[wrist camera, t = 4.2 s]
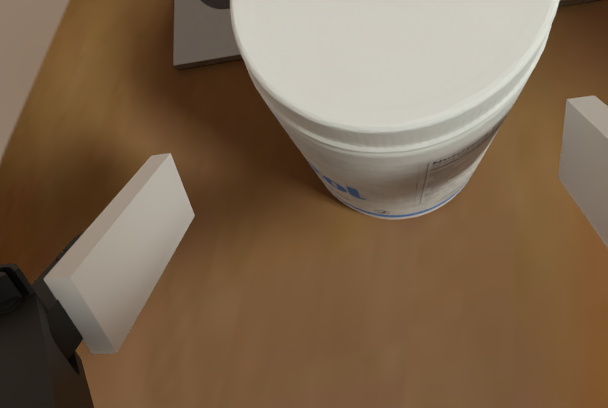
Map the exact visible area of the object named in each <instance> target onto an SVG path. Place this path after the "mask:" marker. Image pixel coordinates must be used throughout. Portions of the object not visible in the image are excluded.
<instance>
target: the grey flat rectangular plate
mask: <svg viewBox="0 0 608 408" xmlns="http://www.w3.org/2000/svg"><path fill="white" fill-rule="evenodd" d="M590 1H596V0H560V1H559V4H558V7H560V6H566V5H572V4H578V3H584V2H590ZM240 59H243V58H242V56H241V54H240V51H239V49H238V47H237V44H236V41H235V37H234V33H233V29H232V23H231V15H230V0H174V50H173V66H174V67H175V68H176V69H177V70H180V69H186V68H192V67H198V66H204V65H210V64H216V63H222V62H228V61H234V60H240Z"/></svg>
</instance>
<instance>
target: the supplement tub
mask: <svg viewBox="0 0 608 408" xmlns="http://www.w3.org/2000/svg"><path fill="white" fill-rule="evenodd" d="M559 1H560V0H230V15H231V23H232V29H233V33H234V37H235V41H236V44H237V47H238V49H239V51H240V54H241V56H242V58H243V60H244V62H245V65H246V68H247V70H248V73H249V75H250V77H251V79H252V81H253V83H254V85H255V87H256V89H257V90H258V92H259V93H260V95H261V97H262V98H263V100H264V101H265V103H266V104H267V105H268V107H269V108H270V110H271V111H272V113H273V114H274V116H275V117H276V119H277V120H278V121H279V123H280V124H281V126H282V127H283V128H284V130H285V131H286V132H287V134H288V135H289V137H290V138H291V139H292V141H293V142H294V143H295V145H296V146H297V147H298V149H299V150H300V152H301V153H302V154H303V156H304V157H305V159H306V160H307V161H308V163H309V164H310V166H311V167H312V168H313V170H314V171H315V172H316V174H317V175H318V177H319V178H320V179H321V181H322V182H323V183H324V185H325V186H326V187H327V189H328V190H329V191H330V192H331V193H332V194H333V195H334V196H335V197H336V198H337V199H339V200H340V201H341V202H343V203H344V204H345V205H347V206H349V207H351V208H352V209H354V210H356V211H358V212H361V213H363V214H366V215H369V216H372V217H376V218H381V219H407V218H413V217H417V216H421V215H424V214H427V213H429V212H431V211H434V210H436V209H437V208H439V207H441V206H443V205H444V204H446V203H447V202H449V201H450V200H451V199H452V198H454V197H455V196H456V195H457V194H458V193H459V192H460V191H461V189H462V188H463V187H464V186H465V185H466V183H467V182H468V181H469V179H470V177H471V176H472V174H473V173H474V171H475V169H476V168H477V166H478V164H479V162H480V161H481V159H482V157H483V156H484V154H485V152H486V150H487V149H488V147H489V145H490V144H491V142H492V140H493V139H494V137H495V135H496V133H497V132H498V130H499V128H500V126H501V125H502V123H503V121H504V120H505V118H506V116H507V115H508V113H509V111H510V110H511V108H512V106H513V105H514V103H515V101H516V100H517V98H518V96H519V94H520V92H521V91H522V89H523V87H524V85H525V84H526V82H527V80H528V78H529V76H530V75H531V73H532V71H533V69H534V68H535V66H536V64H537V62H538V60H539V58H540V56H541V54H542V52H543V50H544V48H545V45H546V42H547V39H548V36H549V32H550V29H551V25H552V22H553V19H554V17H555V14H556V11H557V8H558V4H559Z"/></svg>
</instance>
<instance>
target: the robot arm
mask: <svg viewBox="0 0 608 408" xmlns="http://www.w3.org/2000/svg"><path fill="white" fill-rule="evenodd" d="M558 178H559V180H560V181H561V183H562V184H563V185H564V187H565V188H566V190H567V191H568V193H569V194H570V195H571V197H572V198H573V200H574V201H575V203H576V204H577V205H578V207H579V208H580V210H581V211H582V213H583V214H584V215H585V217H586V218H587V220H588V221H589V223H590V224H591V225H592V227H593V228H594V230H595V231H596V232H597V234H598V235H599V237H600V238H601V240H602V241H603V242H604V244H605V245H606V247H607V248H608V106H607V105H605V104H604V103H603V102H602V101H601V100H599V99H598V98H597V97H596V96H595V95H594V96H587V97H579V98H572V99H567V100H566V109H565V119H564V128H563V138H562V147H561V156H560V166H559V175H558ZM194 216H195V215H194V212H193V210H192V207H191V205H190V202H189V200H188V197H187V194H186V192H185V189H184V187H183V184H182V181H181V179H180V176H179V174H178V171H177V169H176V166H175V163H174V161H173V158H172V156H171V153H168V154H161V155H153V156H151V157H150V158H149V159H148V160H147V161H146V162H145V164H144V165H143V166H142V167H141V168H140V169H139V170H138V172H137V173H136V174H135V175H134V176H133V177H132V178H131V180H130V181H129V182H128V183H127V184H126V185H125V186H124V188H123V189H122V190H121V191H120V192H119V193H118V194H117V195H116V197H115V198H114V199H113V200H112V201H111V202H110V203H109V205H108V206H107V207H106V208H105V209H104V210H103V211H102V213H101V214H100V215H99V216H98V217H97V218H96V219H95V221H94V222H93V223H92V224H91V225H90V226H89V227H88V229H86V230H85V231H84V232H82V233H81V234H79V235H78V236H77V237H75V238H74V239H73V240H72V241H71V242H70V243H69V244H68V245H67V247H66V248H65V249H64V250H63V251H64V252H61V253H60V254H59V255H58V257H57V258H56V259H55V260H56V261H53V262H52V263H51V264H50V266H49V267H48V268H47V269H46V270H45V271H44V272H43V273H42V275H41V276H40V277H39V278H38V279H37V280H36V281H35V282H34V283H33V285H32V286H31V285H30V283H29V282H28V280H27V279H26V278H25V276H24V275H23V273H22V272H21V270H20V269H19V267H18V266H17V265H16V264H4V265H0V408H94V406H93V402H92V398H91V395H90V391H89V387H88V383H87V380H86V376H85V372H84V368H83V365H82V361H81V359H80V357H79V356H78V354H77V353H76V351H75V350H76V348H77V347H78V345H79V344H80V342H81V341H82V339H83V341H84V342H85V344H86V345H87V347H88V348H89V350H90V351H91V353H92V354H111V353H118V351H119V349H120V347H121V345H122V344H123V342H124V340H125V338H126V337H127V335H128V333H129V331H130V330H131V328H132V326H133V324H134V322H135V321H136V319H137V317H138V315H139V314H140V312H141V310H142V308H143V307H144V305H145V303H146V301H147V299H148V298H149V296H150V294H151V292H152V291H153V289H154V287H155V285H156V284H157V282H158V280H159V278H160V276H161V275H162V273H163V271H164V269H165V268H166V266H167V264H168V262H169V261H170V259H171V257H172V255H173V253H174V252H175V250H176V248H177V246H178V245H179V243H180V241H181V239H182V238H183V236H184V234H185V232H186V230H187V229H188V227H189V225H190V223H191V222H192V220H193V218H194Z"/></svg>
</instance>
